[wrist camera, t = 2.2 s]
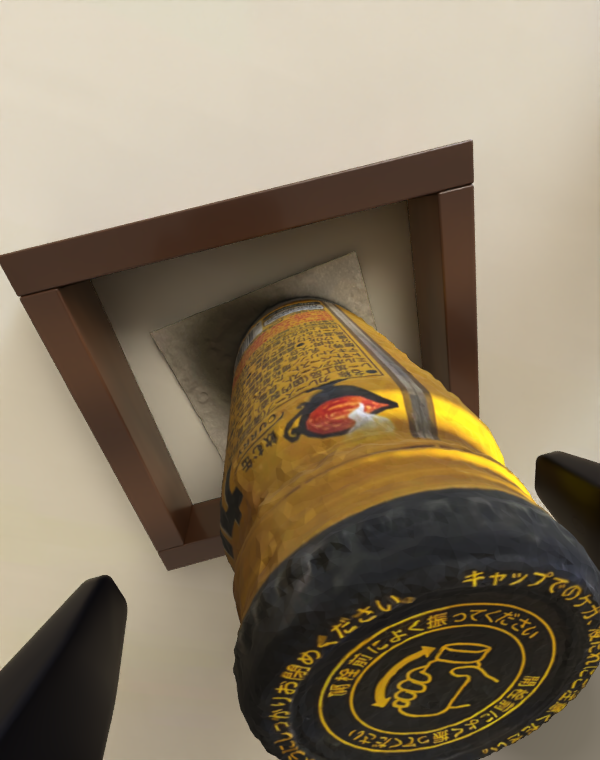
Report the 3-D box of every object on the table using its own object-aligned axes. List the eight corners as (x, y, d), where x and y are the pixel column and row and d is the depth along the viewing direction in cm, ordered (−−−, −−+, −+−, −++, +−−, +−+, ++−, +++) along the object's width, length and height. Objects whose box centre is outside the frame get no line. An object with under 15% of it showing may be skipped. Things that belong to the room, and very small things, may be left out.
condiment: (397, 405, 17) (670, 730, 6) (229, 469, 17) (194, 901, 6) (354, 250, 14) (734, 330, 3) (151, 330, 14) (-183, 681, 3)
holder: (452, 453, 18) (482, 484, 16) (177, 528, 18) (167, 572, 16) (434, 154, 13) (473, 138, 11) (40, 251, 13) (-6, 256, 10)
